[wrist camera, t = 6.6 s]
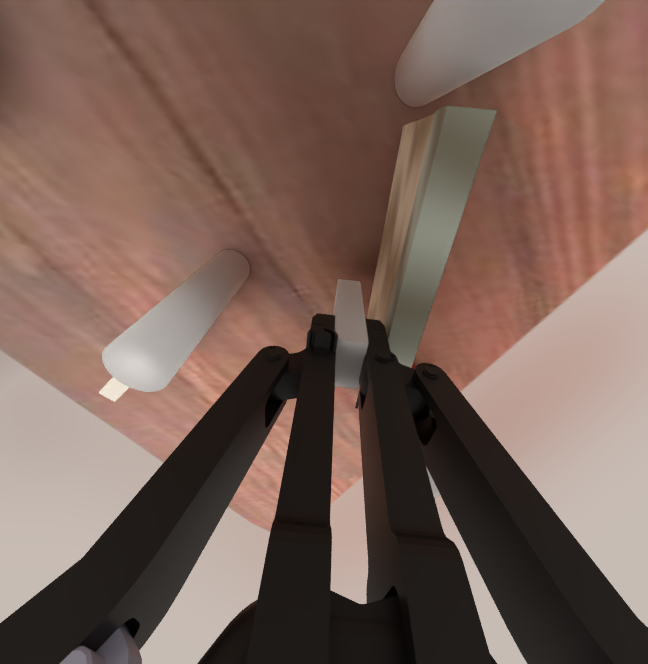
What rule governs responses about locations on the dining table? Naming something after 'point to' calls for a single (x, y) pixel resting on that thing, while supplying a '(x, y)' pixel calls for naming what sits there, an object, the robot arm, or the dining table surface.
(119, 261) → the dining table surface
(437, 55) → the fence
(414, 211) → the gate
